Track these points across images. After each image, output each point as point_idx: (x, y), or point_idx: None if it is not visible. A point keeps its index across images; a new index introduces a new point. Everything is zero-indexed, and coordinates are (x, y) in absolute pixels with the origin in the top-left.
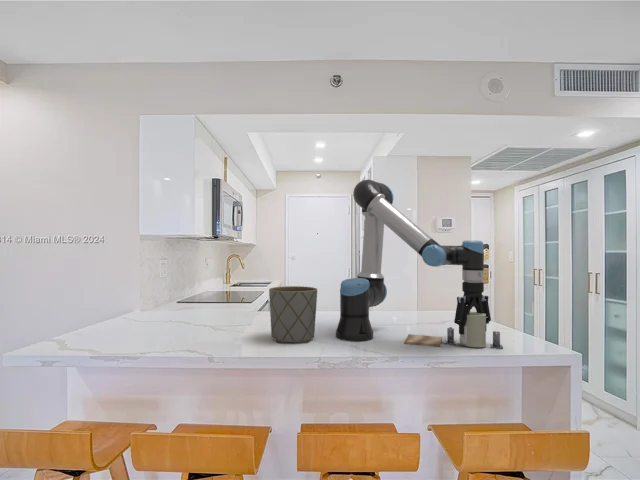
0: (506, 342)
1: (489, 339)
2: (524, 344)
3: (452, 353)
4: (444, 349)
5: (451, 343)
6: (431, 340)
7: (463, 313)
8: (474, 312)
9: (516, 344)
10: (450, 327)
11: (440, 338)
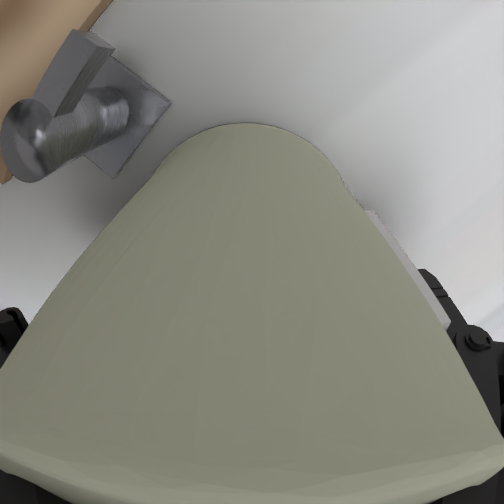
0: (495, 256)
1: (500, 157)
2: (499, 309)
3: (31, 301)
4: (15, 235)
5: (87, 155)
6: (1, 65)
7: (20, 493)
8: (427, 500)
9: (483, 300)
10: (63, 64)
11: (90, 4)
